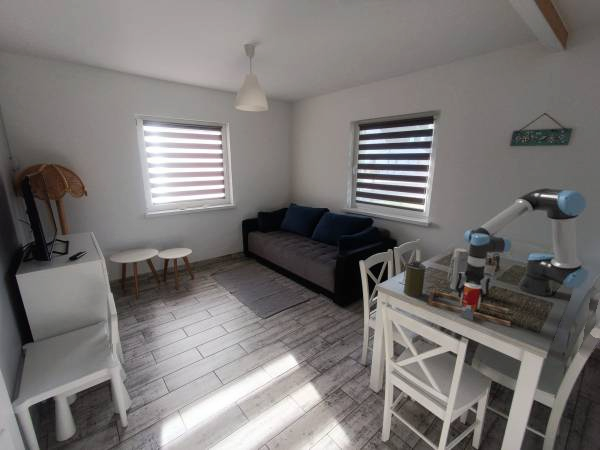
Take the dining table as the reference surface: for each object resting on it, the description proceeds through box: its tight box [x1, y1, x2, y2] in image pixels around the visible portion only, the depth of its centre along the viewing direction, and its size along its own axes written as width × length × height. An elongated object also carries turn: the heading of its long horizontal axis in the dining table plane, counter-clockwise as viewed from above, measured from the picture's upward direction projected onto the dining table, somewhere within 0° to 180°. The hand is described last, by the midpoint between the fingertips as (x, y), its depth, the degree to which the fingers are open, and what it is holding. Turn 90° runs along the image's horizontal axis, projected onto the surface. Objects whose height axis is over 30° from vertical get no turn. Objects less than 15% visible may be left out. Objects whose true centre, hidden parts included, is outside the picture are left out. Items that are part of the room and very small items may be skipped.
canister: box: [403, 259, 427, 298], centre depth 154 cm, size 11×10×20 cm
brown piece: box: [426, 289, 511, 328], centre depth 140 cm, size 36×15×2 cm, turn 55°
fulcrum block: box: [460, 305, 474, 321], centre depth 131 cm, size 5×4×6 cm
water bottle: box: [447, 247, 468, 292], centre depth 159 cm, size 9×8×25 cm
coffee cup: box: [461, 279, 483, 312], centre depth 138 cm, size 8×8×15 cm
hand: (469, 305), depth 139 cm, fingers closed on coffee cup, 7 cm apart
